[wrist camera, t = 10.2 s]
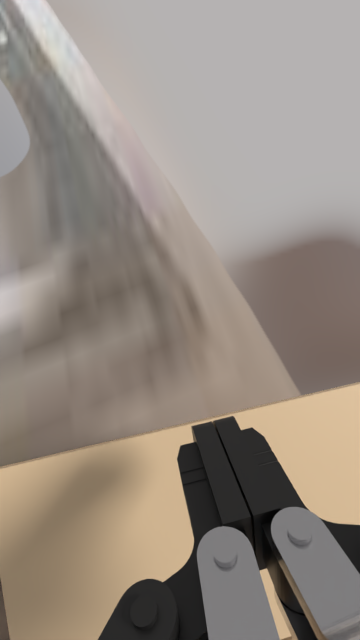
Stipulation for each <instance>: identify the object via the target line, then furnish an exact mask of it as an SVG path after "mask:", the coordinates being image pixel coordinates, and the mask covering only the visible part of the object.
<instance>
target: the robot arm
mask: <svg viewBox="0 0 360 640" xmlns="http://www.w3.org/2000/svg"><path fill="white" fill-rule="evenodd" d="M191 429H192V435H193V441H194V442H192V443H188V444H184V445H180V449H179V453H178V457H177V462H178V467H179V472H180V477H181V482H182V487H183V492H184V496H185V500H186V505H187V509H188V514H189V518H190V523H191V527H192V532H193V536H194V546H193V550H192V553H191V555H190V557H189V559H188V561H187V562H186V564H185V565H184V566H183V567H182V568H181V569H180V570H179V571H177V572H176V573H175V574H173V575H172V576H171V577H169V578H168V579H167V580H165V581H164V582H161V581H159V580H156V579H144V580H141V581H138V582H136V583H135V584H133V585H132V586H131V587H129V588H128V589H127V590H126V592H125V593H124V594H123V595H122V597H121V599H120V600H119V602H118V604H117V606H116V607H115V609H114V611H113V613H112V615H111V616H110V618H109V620H108V622H107V624H106V625H105V627H104V629H103V631H102V633H101V635H100V636H99V638H98V640H280V638H279V635H278V631H277V628H276V625H275V621H274V618H273V615H272V611H271V608H270V604H269V601H268V598H267V594H266V591H265V588H264V584H263V581H262V578H261V574H260V570H263V569H266V568H267V570H268V572H269V575H270V577H271V580H272V582H273V585H274V596H275V600H276V603H277V605H278V607H279V609H280V612H281V614H282V616H283V618H284V620H285V623H286V625H287V627H288V629H289V631H290V634H291V636H292V638H293V640H360V525H353V524H338V523H332V522H329V521H326V520H323V519H321V518H319V517H318V516H317V515H315V514H314V513H313V512H311V511H310V510H309V509H308V508H307V507H306V506H305V505H304V503H303V502H302V500H301V499H300V497H299V495H298V494H297V492H296V490H295V488H294V487H293V485H292V483H291V482H290V480H289V478H288V476H287V475H286V473H285V471H284V470H283V468H282V466H281V464H280V463H279V462H278V459H277V458H276V456H275V454H274V452H272V449H271V447H270V446H269V444H268V442H267V441H266V439H265V437H264V436H263V435H261V434H260V433H259V432H258V431H256V430H255V429H254V428H248V429H244V430H241V429H240V427H239V425H238V423H237V421H236V419H235V417H234V416H230V417H226V418H222V419H218V420H214V421H213V423H212V421H210V422H206V423H202V424H198V425H194V426H191Z"/></svg>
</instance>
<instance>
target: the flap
mask: <svg viewBox="0 0 360 640" xmlns="http://www.w3.org/2000/svg"><path fill="white" fill-rule="evenodd" d="M230 416H234V417H235V419H236V421H237V423H238V425H239V427H240V429H241V430H244V429H248V428H254V429H255V430H256V431H258V432H259V433H260V434H261V435H263V436H264V437H265V439H266V441H267V442H268V444H269V446H270V447H271V449H272V452H274V454H275V456H276V458H277V459H278V462H279V463H280V464H281V466H282V468H283V470H284V471H285V473H286V475H287V476H288V478H289V480H290V482H291V483H292V485H293V487H294V488H295V490H296V492H297V494H298V495H299V497H300V499H301V500H302V502H303V503H304V505H305V506H306V507H307V508H308V509H309V510H310V511H311V512H313V513H314V514H315V515H317V516H318V517H319V518H321V519H323V520H326V521H329V522H332V523H338V524H353V525H360V382H357V383H353V384H349V385H345V386H340V387H336V388H332V389H328V390H324V391H319V392H315V393H311V394H307V395H302V396H298V397H294V398H290V399H285V400H281V401H277V402H273V403H268V404H264V405H260V406H256V407H252V408H247V409H243V410H239V411H235V412H230V413H226V414H222V415H218V416H213V417H209V418H205V419H201V420H196V421H192V422H188V423H184V424H180V425H175V426H171V427H167V428H163V429H158V430H154V431H150V432H146V433H141V434H137V435H133V436H129V437H124V438H120V439H116V440H112V441H107V442H103V443H99V444H95V445H91V446H86V447H82V448H78V449H74V450H69V451H65V452H61V453H57V454H52V455H48V456H44V457H40V458H35V459H31V460H27V461H23V462H19V463H14V464H10V465H6V466H2V467H0V578H1V585H2V591H3V598H4V604H5V611H6V617H7V624H8V630H9V637H10V640H98V638H99V636H100V635H101V633H102V631H103V629H104V627H105V625H106V624H107V622H108V620H109V618H110V616H111V615H112V613H113V611H114V609H115V607H116V606H117V604H118V602H119V600H120V599H121V597H122V595H123V594H124V593H125V592H126V590H127V589H128V588H129V587H131V586H132V585H133V584H135V583H136V582H138V581H141V580H144V579H156V580H159V581H161V582H164V581H165V580H167V579H168V578H169V577H171V576H172V575H173V574H175V573H176V572H177V571H179V570H180V569H181V568H182V567H183V566H184V565H185V564H186V562H187V561H188V559H189V557H190V555H191V553H192V550H193V546H194V536H193V532H192V527H191V523H190V518H189V514H188V509H187V505H186V500H185V496H184V492H183V487H182V482H181V477H180V472H179V467H178V462H177V457H178V453H179V449H180V445H184V444H188V443H192V442H194V441H193V435H192V429H191V426H194V425H198V424H202V423H206V422H210V421H212V423H213V421H214V420H218V419H222V418H226V417H230ZM260 574H261V578H262V581H263V584H264V588H265V591H266V594H267V598H268V601H269V604H270V608H271V611H272V615H273V618H274V621H275V625H276V628H277V631H278V635H279V638H280V640H281V639H284V638H287V637H290V636H291V634H290V631H289V629H288V627H287V625H286V623H285V620H284V618H283V616H282V614H281V612H280V609H279V607H278V605H277V603H276V600H275V596H274V585H273V582H272V580H271V577H270V575H269V572H268V570H267V568H266V569H263V570H260Z"/></svg>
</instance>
